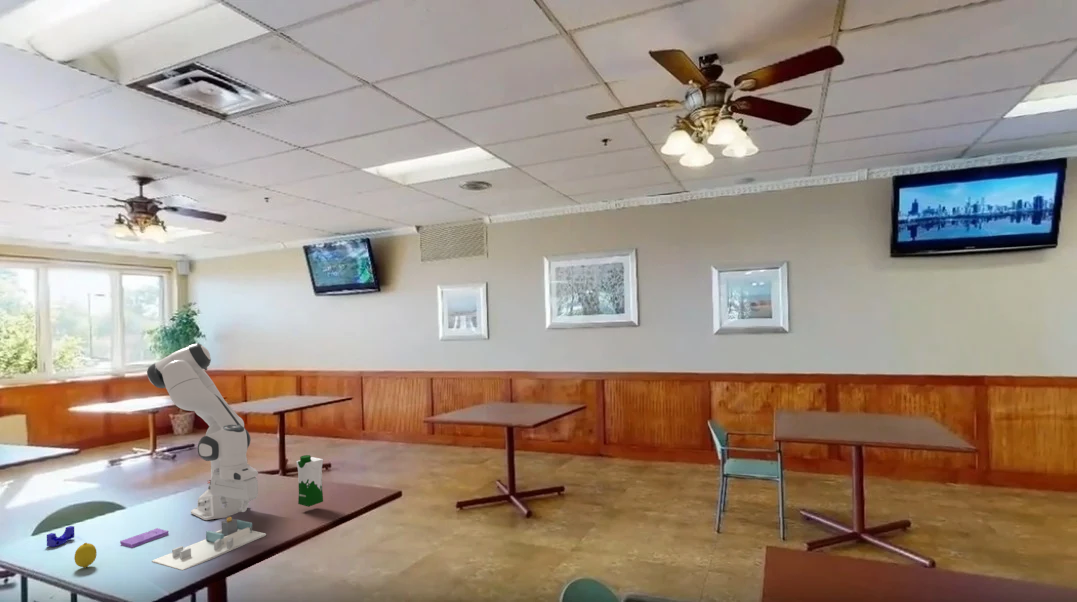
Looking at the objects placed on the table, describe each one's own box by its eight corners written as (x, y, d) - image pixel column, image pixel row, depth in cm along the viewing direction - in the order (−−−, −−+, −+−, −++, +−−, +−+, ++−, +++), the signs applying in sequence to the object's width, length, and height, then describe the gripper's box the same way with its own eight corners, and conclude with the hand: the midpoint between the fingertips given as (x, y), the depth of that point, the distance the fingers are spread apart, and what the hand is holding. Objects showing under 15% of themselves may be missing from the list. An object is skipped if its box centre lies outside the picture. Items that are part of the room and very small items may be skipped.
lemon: (82, 564, 183) (82, 539, 183) (100, 563, 183) (100, 538, 183) (70, 572, 177) (69, 547, 177) (88, 571, 178) (88, 546, 178)
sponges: (168, 535, 206) (168, 530, 206) (131, 549, 195) (130, 544, 195) (157, 532, 209) (157, 527, 209) (119, 546, 198) (119, 540, 198)
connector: (221, 536, 200) (221, 518, 200) (230, 532, 203) (230, 515, 204) (228, 537, 199) (227, 520, 199) (237, 533, 202) (236, 516, 202)
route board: (151, 562, 183) (151, 553, 183) (236, 528, 210) (236, 520, 210) (182, 571, 176) (182, 561, 176) (266, 535, 203) (265, 526, 203)
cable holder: (54, 546, 198) (54, 535, 198) (46, 546, 199) (46, 534, 199) (77, 537, 206) (77, 526, 206) (70, 536, 207) (69, 526, 207)
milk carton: (294, 504, 235) (293, 456, 235) (313, 497, 242) (312, 451, 242) (308, 508, 230) (306, 459, 230) (326, 501, 238) (325, 453, 238)
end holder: (206, 541, 198) (206, 531, 198) (237, 528, 208) (237, 519, 208) (221, 545, 194) (220, 535, 194) (252, 532, 205) (252, 522, 205)
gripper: (205, 470, 203) (205, 508, 203) (245, 476, 195) (245, 516, 195) (221, 465, 209) (221, 502, 209) (261, 471, 201) (261, 510, 201)
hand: (233, 509), depth 202 cm, fingers open, 8 cm apart
